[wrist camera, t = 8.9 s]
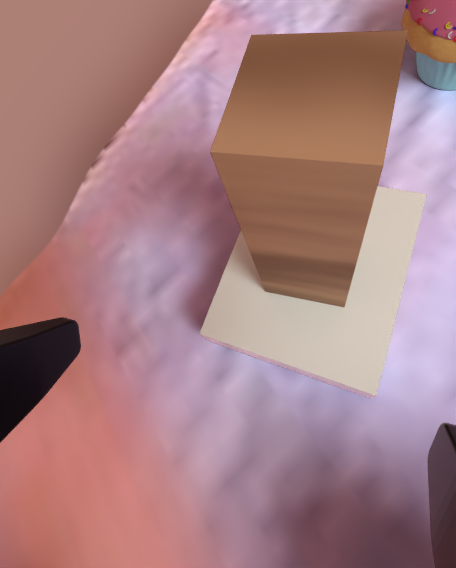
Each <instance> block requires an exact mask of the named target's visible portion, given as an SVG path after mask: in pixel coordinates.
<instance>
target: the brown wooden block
mask: <svg viewBox="0 0 456 568" xmlns="http://www.w3.org/2000/svg"><path fill="white" fill-rule="evenodd" d="M407 32H408V30H403V31H369V32H335V33H302V34H268V35H251V38H250V40H249V43H248V46H247V49H246V52H245V54H244V57H243V60H242V63H241V66H240V69H239V71H238V74H237V77H236V80H235V83H234V86H233V88H232V91H231V94H230V97H229V100H228V103H227V105H226V108H225V111H224V114H223V117H222V119H221V122H220V125H219V128H218V131H217V134H216V136H215V139H214V142H213V145H212V148H211V151H210V153H211V156H212V158H213V161H214V163H215V166H216V168H217V171H218V173H219V176H220V178H221V181H222V183H223V186H224V188H225V191H226V193H227V196H228V198H229V201H230V204H231V206H232V209H233V211H234V214H235V216H236V219H237V221H238V224H239V226H240V229H241V231H242V234H243V236H244V239H245V241H246V244H247V246H248V249H249V251H250V254H251V256H252V259H253V262H254V264H255V267H256V269H257V272H258V274H259V277H260V279H261V282H262V284H263V287H264V289H265V292H269V293H274V294H279V295H284V296H289V297H294V298H299V299H304V300H309V301H314V302H319V303H324V304H329V305H334V306H339V307H345V304H346V300H347V296H348V293H349V289H350V285H351V282H352V278H353V274H354V271H355V267H356V263H357V260H358V256H359V252H360V249H361V245H362V241H363V238H364V234H365V230H366V227H367V223H368V219H369V216H370V212H371V208H372V205H373V201H374V197H375V194H376V190H377V186H378V183H379V179H380V175H381V172H382V168H383V164H384V158H385V153H386V147H387V142H388V136H389V131H390V125H391V120H392V114H393V109H394V103H395V98H396V92H397V87H398V81H399V76H400V70H401V65H402V59H403V54H404V48H405V43H406V37H407Z"/></svg>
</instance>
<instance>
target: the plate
mask: <svg viewBox="0 0 456 568" xmlns="http://www.w3.org/2000/svg"><path fill="white" fill-rule="evenodd" d="M426 195H427V194H422V193H416V192H410V191H403V190H397V189H391V188H385V187H379V186H377V190H376V194H375V197H374V201H373V205H372V208H371V212H370V216H369V219H368V223H367V227H366V230H365V234H364V238H363V241H362V245H361V249H360V252H359V256H358V260H357V263H356V267H355V271H354V274H353V278H352V282H351V285H350V289H349V293H348V296H347V300H346V304H345V307H339V306H334V305H329V304H324V303H319V302H314V301H309V300H304V299H299V298H294V297H289V296H284V295H279V294H274V293H269V292H265V289H264V287H263V284H262V282H261V279H260V277H259V274H258V272H257V269H256V267H255V264H254V262H253V259H252V256H251V254H250V251H249V249H248V246H247V244H246V241H245V239H244V236H243V234H242V231H241V230H240V233H239V235H238V238H237V240H236V243H235V245H234V248H233V250H232V253H231V255H230V258H229V260H228V263H227V265H226V268H225V270H224V273H223V276H222V278H221V281H220V283H219V286H218V288H217V291H216V293H215V296H214V298H213V301H212V303H211V306H210V308H209V311H208V313H207V316H206V318H205V321H204V323H203V326H202V328H201V331H200V333H199V334H201V335H202V336H203V337H205V338H206V339H208V340H209V341H210V342H213V343H216V344H218V345H221V346H224V347H227V348H230V349H232V350H235V351H238V352H241V353H244V354H246V355H249V356H252V357H255V358H258V359H261V360H263V361H266V362H269V363H272V364H275V365H277V366H280V367H283V368H286V369H289V370H291V371H294V372H297V373H300V374H303V375H306V376H308V377H311V378H314V379H317V380H320V381H322V382H325V383H328V384H331V385H334V386H336V387H339V388H342V389H345V390H348V391H351V392H353V393H356V394H359V395H362V396H365V397H367V398H371V397H374V396H376V395H377V391H378V387H379V383H380V379H381V375H382V371H383V367H384V363H385V359H386V355H387V351H388V347H389V343H390V339H391V335H392V331H393V327H394V323H395V319H396V315H397V311H398V307H399V303H400V299H401V295H402V291H403V287H404V283H405V279H406V275H407V271H408V267H409V263H410V259H411V255H412V251H413V247H414V243H415V239H416V235H417V231H418V227H419V223H420V219H421V215H422V211H423V207H424V203H425V199H426Z"/></svg>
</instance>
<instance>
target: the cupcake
mask: <svg viewBox="0 0 456 568" xmlns="http://www.w3.org/2000/svg"><path fill="white" fill-rule="evenodd" d="M405 8H406V9H405V12H404V15H403V19H402V28H403V30H408V32H407V37H406V38H407V41H408V43H409V45H410V47H411V49H412V50H414V51H415V52H416V67H417V73H418V75H419V77H420V79H421V80H422V81H423V82H424V83H426V84H427V85H429V86H431V87H433V88H436V89H441V90H456V0H406V6H405Z"/></svg>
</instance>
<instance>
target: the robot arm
mask: <svg viewBox="0 0 456 568" xmlns="http://www.w3.org/2000/svg"><path fill="white" fill-rule="evenodd" d="M80 349H81V342H80V334H79V326H78V324H77V322H76V321H75V320H72V319H68V318H64V317H61V318H56V319H51V320H47V321H42V322H37V323H32V324H28V325H23V326H18V327H14V328H9V329H4V330H0V443H1V442H2V440H3V439H4V438H5V437H6V436H7V435H8V434H9V433H10V432H11V431H12V430H13V429H14V428H15V427H16V426H17V425H18V424H19V423H20V422H21V421H22V420H23V419H24V418H25V417H26V416H27V414H28V413H29V412H30V411H31V410H32V409H33V408H34V407H35V406H36V405H37V404H38V403H39V402H40V401H41V400H42V399H43V397H44V396H45V395H46V394H47V393H48V392H49V390H50V389H51V388H52V387H53V385H54V384H55V383H56V382H57V380H58V379H59V378H60V377H61V375H62V374H63V373H64V372H65V370H66V369H67V368H68V367H69V365H70V364H71V363H72V362H73V360H74V359H75V358H76V357H77V355H78V354H79V352H80ZM428 483H429V504H430V526H431V541H432V548H433V555H434V562H435V568H456V425H453V424H449V423H442V424H441V425H440V427H439V429H438V431H437V433H436V436H435V438H434V441H433V443H432V446H431V448H430V451H429V454H428Z"/></svg>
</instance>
